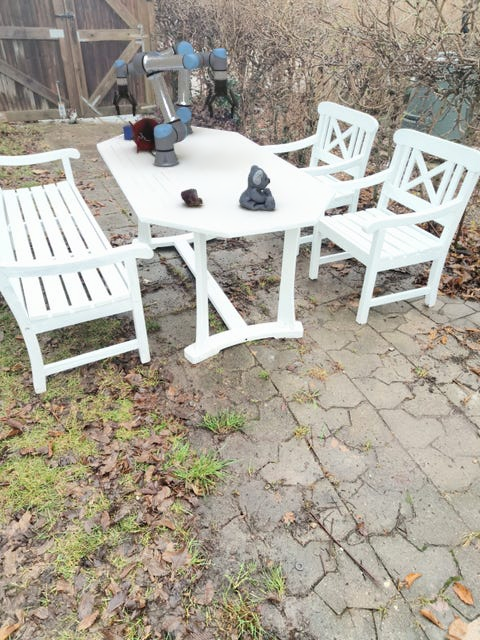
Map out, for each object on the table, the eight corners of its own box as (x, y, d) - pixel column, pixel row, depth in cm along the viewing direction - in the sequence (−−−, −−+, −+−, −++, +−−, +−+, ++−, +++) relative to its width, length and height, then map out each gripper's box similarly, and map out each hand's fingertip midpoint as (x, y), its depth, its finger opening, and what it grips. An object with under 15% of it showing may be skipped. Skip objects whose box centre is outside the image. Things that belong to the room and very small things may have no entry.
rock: (196, 202, 238) (178, 205, 233) (194, 185, 234) (176, 188, 230) (205, 205, 228) (187, 208, 224) (203, 188, 224) (185, 191, 220)
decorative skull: (132, 124, 330) (125, 120, 306) (163, 117, 329) (158, 113, 306) (140, 154, 337) (134, 153, 313) (170, 147, 336) (166, 145, 312)
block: (130, 140, 349) (128, 127, 344) (124, 139, 351) (122, 126, 345) (135, 138, 355) (133, 125, 350) (129, 137, 357) (127, 124, 351)
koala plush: (276, 211, 223) (277, 171, 212) (240, 212, 222) (240, 172, 211) (271, 199, 237) (272, 161, 226) (237, 200, 236) (237, 162, 225)
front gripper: (242, 79, 263) (242, 118, 275) (203, 77, 270) (205, 115, 282) (238, 80, 257) (239, 120, 269) (198, 79, 264) (200, 118, 276)
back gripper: (139, 84, 331) (143, 115, 343) (110, 83, 337) (115, 113, 349) (134, 85, 325) (138, 117, 337) (105, 84, 332) (109, 115, 344)
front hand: (221, 118), depth 276 cm, fingers open, 13 cm apart
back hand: (126, 115), depth 343 cm, fingers open, 13 cm apart
